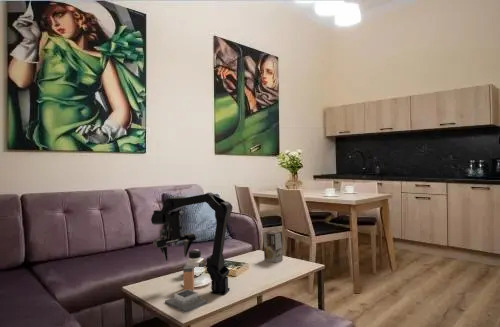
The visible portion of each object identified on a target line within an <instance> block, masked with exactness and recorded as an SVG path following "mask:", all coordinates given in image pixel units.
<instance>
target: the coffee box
mask: <svg viewBox="0 0 500 327" xmlns="http://www.w3.org/2000/svg"><path fill="white" fill-rule="evenodd" d="M262 235H263V252H264V254H263V255H264V256H263V257H264V261H267V262H270V263H276V264H277V263H280V262H282V261H284V260H283V259H284V258H283V257H284V256H283V233H282V231H281V232H280V231H275V230H267V231H265V232H263V234H262Z"/></svg>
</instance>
